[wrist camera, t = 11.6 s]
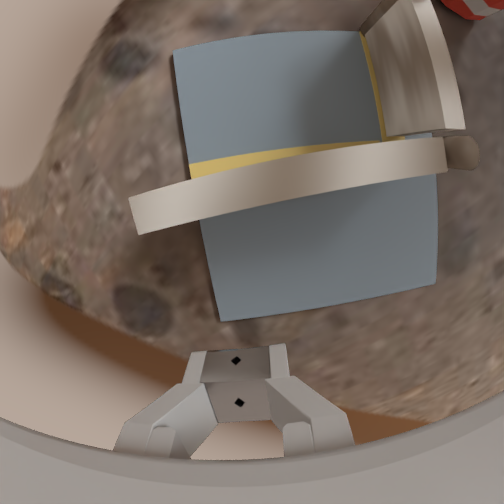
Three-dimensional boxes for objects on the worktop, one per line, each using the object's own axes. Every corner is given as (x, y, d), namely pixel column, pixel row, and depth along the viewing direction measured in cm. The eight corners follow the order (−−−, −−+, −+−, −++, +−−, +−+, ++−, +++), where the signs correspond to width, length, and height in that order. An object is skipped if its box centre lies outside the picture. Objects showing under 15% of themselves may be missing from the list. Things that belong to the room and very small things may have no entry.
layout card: (174, 52, 14) (172, 50, 14) (407, 38, 13) (410, 36, 13) (221, 318, 19) (221, 322, 18) (432, 281, 18) (436, 284, 18)
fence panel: (380, 142, 15) (442, 136, 9) (385, 166, 15) (448, 171, 9) (173, 184, 16) (128, 197, 10) (179, 208, 16) (138, 235, 10)
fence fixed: (357, 22, 13) (404, -33, 6) (377, 24, 13) (429, -26, 6) (386, 165, 16) (458, 170, 9) (406, 164, 16) (481, 170, 9)
